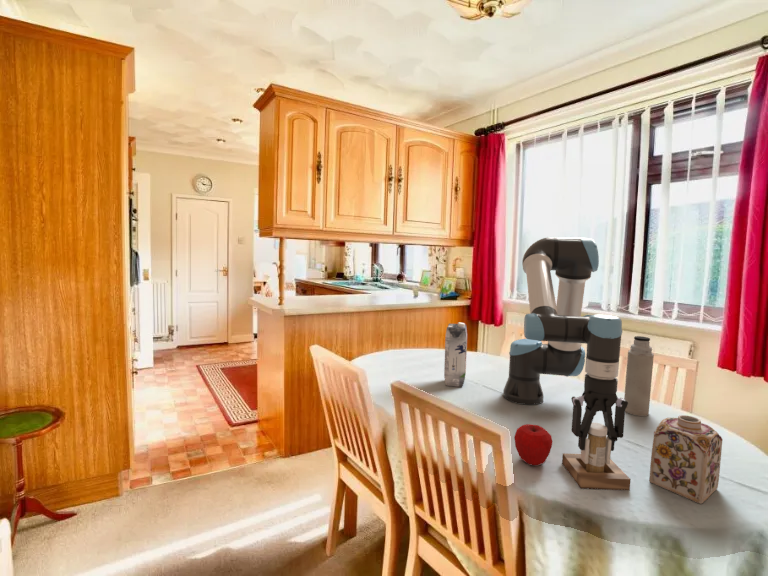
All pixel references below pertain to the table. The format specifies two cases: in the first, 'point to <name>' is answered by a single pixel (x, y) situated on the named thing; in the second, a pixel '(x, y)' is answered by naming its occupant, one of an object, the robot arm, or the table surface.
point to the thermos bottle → (639, 377)
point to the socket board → (595, 475)
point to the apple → (533, 444)
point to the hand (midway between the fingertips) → (594, 461)
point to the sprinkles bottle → (596, 448)
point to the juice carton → (455, 354)
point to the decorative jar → (686, 457)
